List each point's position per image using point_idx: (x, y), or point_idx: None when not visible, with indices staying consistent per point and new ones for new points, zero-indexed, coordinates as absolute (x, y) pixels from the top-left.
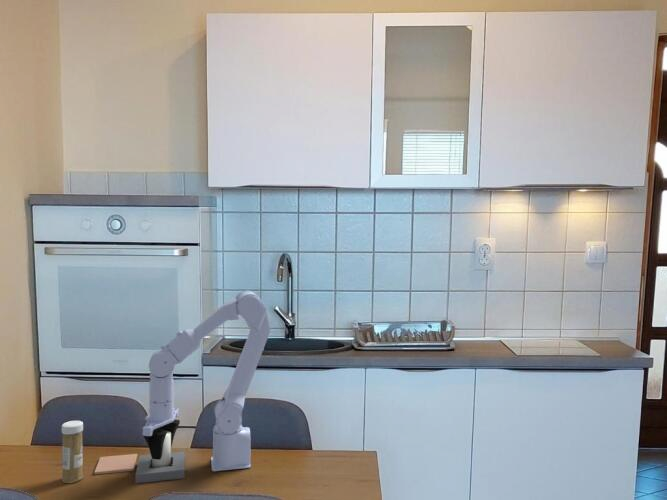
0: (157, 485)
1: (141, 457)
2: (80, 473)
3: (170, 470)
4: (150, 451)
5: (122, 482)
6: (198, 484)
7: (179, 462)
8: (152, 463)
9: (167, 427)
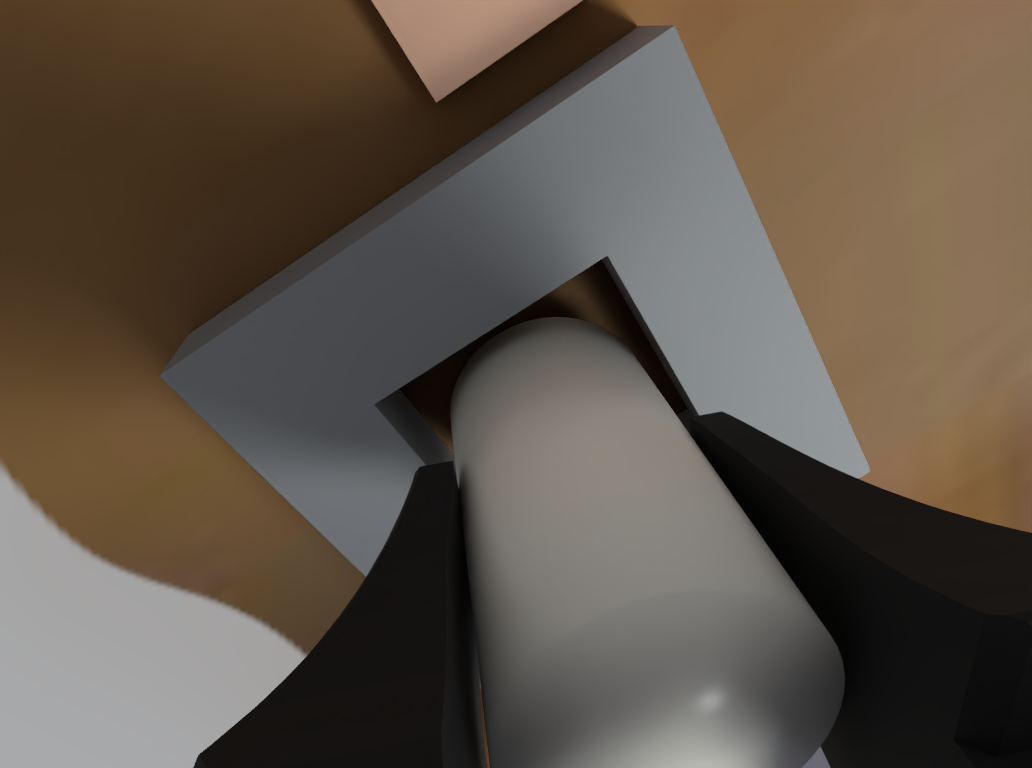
0: (265, 535)
1: (623, 97)
2: None
3: None
4: (398, 525)
5: (124, 181)
6: None
7: None
8: (473, 385)
9: (888, 762)
